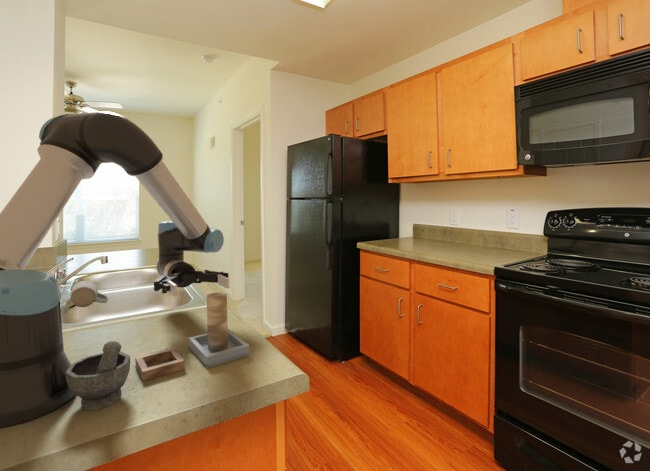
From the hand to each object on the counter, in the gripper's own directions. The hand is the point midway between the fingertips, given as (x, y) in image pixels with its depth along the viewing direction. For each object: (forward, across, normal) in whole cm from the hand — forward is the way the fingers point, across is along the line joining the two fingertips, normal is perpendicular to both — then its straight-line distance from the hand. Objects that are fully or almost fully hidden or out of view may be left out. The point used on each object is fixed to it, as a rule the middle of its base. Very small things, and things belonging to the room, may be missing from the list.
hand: (202, 286), depth 91 cm
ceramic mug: (-52, +22, -14) cm, 58 cm away
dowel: (+11, 0, -13) cm, 17 cm away
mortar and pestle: (+18, +24, -14) cm, 33 cm away
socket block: (+11, +13, -14) cm, 22 cm away
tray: (+11, 0, -14) cm, 17 cm away
